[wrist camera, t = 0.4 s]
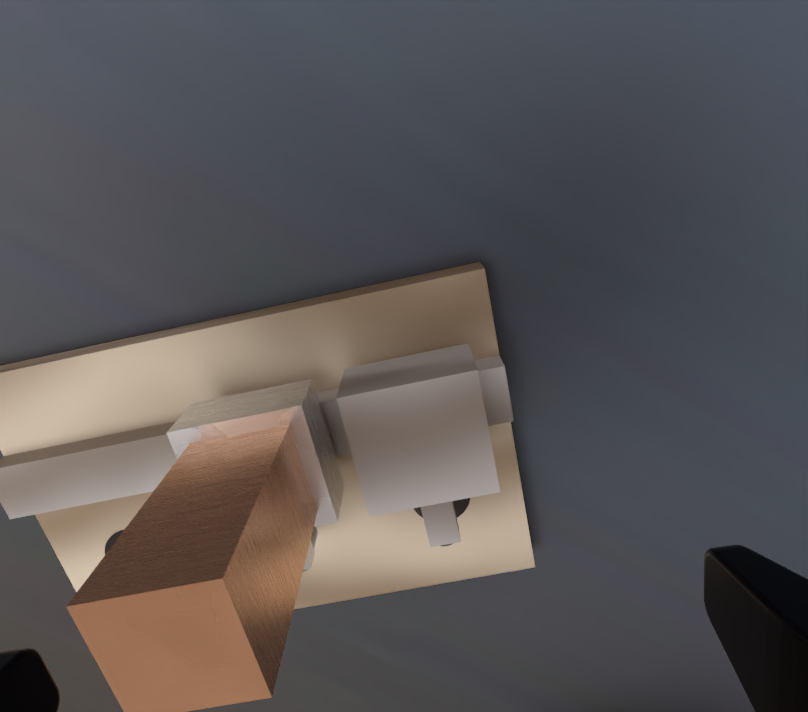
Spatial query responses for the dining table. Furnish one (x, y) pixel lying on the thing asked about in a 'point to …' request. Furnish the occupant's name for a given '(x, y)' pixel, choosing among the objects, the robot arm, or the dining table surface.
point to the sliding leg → (215, 555)
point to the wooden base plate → (345, 418)
